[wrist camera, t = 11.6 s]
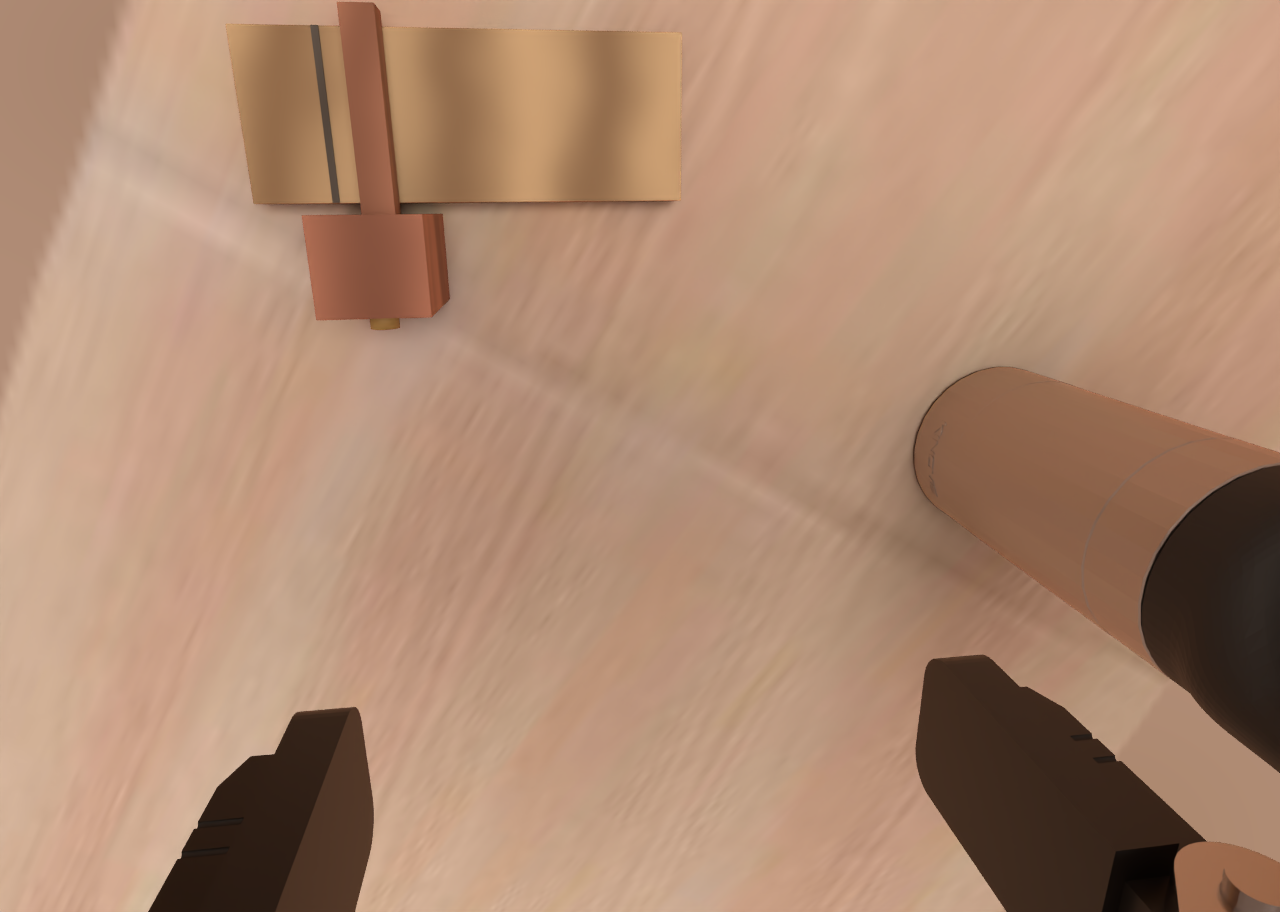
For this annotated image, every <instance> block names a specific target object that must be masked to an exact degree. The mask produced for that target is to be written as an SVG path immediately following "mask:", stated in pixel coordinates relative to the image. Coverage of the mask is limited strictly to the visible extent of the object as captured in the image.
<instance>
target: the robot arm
mask: <svg viewBox="0 0 1280 912" xmlns="http://www.w3.org/2000/svg"><path fill="white" fill-rule="evenodd" d="M914 466H915V470H916V475H917V479H918V482H919V484H920V486H921V488H922V490H923V492H924V494H925V495H926V496H927V497H928V499H929V500H930V501H931V502H932V503H933V505H935V506H936V507H938V508H939V509H940V510H942V511H943V512H944V513H946V514H947V515H948V516H950V517H951V518H952V519H954V520H955V521H956V522H958V523H959V524H960V525H962V526H963V527H964V528H966V529H967V530H968V531H970V532H971V533H972V534H973V535H975V536H976V537H977V538H979V539H980V540H981V541H983V542H984V543H986V544H987V545H988V546H990V547H991V548H992V549H994V550H995V551H996V552H998V553H999V554H1001V555H1002V556H1003V557H1005V558H1006V559H1007V560H1009V561H1010V562H1011V563H1013V564H1014V565H1016V566H1017V567H1018V568H1020V569H1021V570H1022V571H1024V572H1025V573H1026V574H1028V575H1029V576H1030V577H1032V578H1033V579H1035V580H1036V581H1037V582H1039V583H1040V584H1041V585H1043V586H1044V587H1045V588H1047V589H1048V590H1050V591H1051V592H1052V593H1054V594H1055V595H1056V596H1058V597H1059V598H1060V599H1062V600H1063V601H1065V602H1066V603H1067V604H1069V605H1070V606H1071V607H1073V608H1074V609H1075V610H1077V611H1078V612H1080V613H1081V614H1082V615H1084V616H1085V617H1086V618H1088V619H1089V620H1090V621H1092V622H1093V623H1095V624H1096V625H1097V626H1099V627H1100V628H1101V629H1103V630H1104V631H1105V632H1107V633H1108V634H1109V635H1111V636H1113V637H1114V638H1115V639H1117V640H1118V641H1120V642H1121V643H1122V644H1124V645H1125V646H1126V647H1128V648H1129V649H1130V650H1132V651H1133V652H1135V653H1136V654H1137V655H1139V656H1140V657H1141V658H1143V659H1144V660H1145V661H1147V662H1148V663H1150V664H1151V665H1152V666H1154V667H1155V668H1156V669H1158V670H1159V671H1160V672H1162V673H1163V674H1165V675H1166V676H1167V677H1169V678H1170V679H1172V680H1173V681H1174V682H1176V683H1177V684H1179V685H1180V686H1181V687H1183V688H1184V689H1185V690H1187V691H1188V692H1189V693H1191V695H1192V696H1193V698H1194V699H1195V700H1196V702H1197V703H1198V704H1199V705H1200V707H1201V708H1202V709H1203V710H1204V711H1205V712H1206V713H1207V714H1208V715H1209V716H1210V717H1211V718H1212V719H1213V720H1214V721H1215V722H1216V723H1217V724H1219V725H1220V726H1221V727H1222V728H1223V729H1225V730H1226V731H1227V732H1228V733H1229V734H1231V735H1232V736H1233V737H1235V738H1236V739H1237V740H1238V741H1240V742H1241V743H1242V744H1243V745H1245V746H1246V747H1247V748H1249V749H1250V750H1251V751H1252V752H1254V753H1255V754H1257V755H1258V756H1259V757H1260V758H1262V759H1263V760H1264V761H1265V762H1267V763H1268V764H1269V765H1271V766H1272V767H1273V768H1274V769H1276V770H1277V771H1278V772H1279V773H1280V453H1279V452H1276V451H1273V450H1270V449H1267V448H1263V447H1260V446H1257V445H1254V444H1251V443H1248V442H1245V441H1242V440H1238V439H1234V438H1231V437H1228V436H1225V435H1222V434H1219V433H1216V432H1213V431H1210V430H1207V429H1204V428H1201V427H1198V426H1194V425H1191V424H1188V423H1185V422H1182V421H1179V420H1176V419H1173V418H1170V417H1167V416H1164V415H1161V414H1158V413H1155V412H1152V411H1148V410H1145V409H1142V408H1139V407H1136V406H1133V405H1130V404H1127V403H1124V402H1121V401H1118V400H1115V399H1112V398H1109V397H1105V396H1102V395H1099V394H1096V393H1093V392H1090V391H1087V390H1084V389H1081V388H1078V387H1075V386H1073V385H1070V384H1067V383H1063V382H1060V381H1057V380H1054V379H1051V378H1048V377H1045V376H1042V375H1039V374H1035V373H1032V372H1029V371H1026V370H1022V369H1017V368H1012V367H994V368H990V369H985V370H981V371H977V372H975V373H973V374H971V375H969V376H967V377H965V378H962V379H961V380H959V381H958V382H957V383H955V384H954V385H952V386H951V387H950V388H948V389H947V390H946V391H945V392H944V393H943V394H942V395H941V396H940V397H939V398H938V399H937V400H936V401H935V402H934V404H933V405H932V407H931V408H930V410H929V412H928V413H927V415H926V416H925V418H924V420H923V422H922V425H921V427H920V430H919V432H918V435H917V440H916V445H915V450H914ZM916 762H917V768H918V772H919V776H920V779H921V782H922V784H923V787H924V789H925V791H926V792H927V794H928V796H929V797H930V799H931V800H932V802H933V803H934V805H935V806H936V808H937V809H938V811H939V812H940V814H941V815H942V817H943V818H944V820H945V821H946V822H947V824H948V825H949V827H950V828H951V830H952V831H953V833H954V834H955V836H956V837H957V839H958V840H959V842H960V843H961V845H962V846H963V848H964V849H965V851H966V852H967V854H968V855H969V857H970V858H971V860H972V861H973V862H974V864H975V865H976V867H977V868H978V870H979V871H980V873H981V874H982V876H983V877H984V879H985V880H986V882H987V883H988V885H989V886H990V888H991V889H992V891H993V892H994V894H995V895H996V897H997V898H998V900H999V901H1000V902H1001V904H1002V905H1003V907H1004V908H1005V910H1006V911H1007V912H1280V863H1279V862H1277V861H1275V860H1273V859H1271V858H1269V857H1267V856H1265V855H1262V854H1260V853H1258V852H1255V851H1252V850H1249V849H1246V848H1243V847H1239V846H1236V845H1232V844H1227V843H1221V842H1207V841H1206V840H1205V839H1203V837H1202V836H1201V835H1199V834H1198V833H1197V832H1196V831H1195V830H1194V829H1193V828H1192V827H1191V826H1190V825H1189V824H1188V823H1187V822H1186V821H1185V820H1183V819H1182V818H1181V817H1180V816H1179V815H1178V814H1177V813H1176V812H1175V811H1174V810H1173V809H1172V808H1170V806H1168V805H1167V804H1166V803H1165V802H1164V801H1163V800H1162V799H1161V798H1160V797H1159V796H1158V795H1157V794H1156V793H1154V792H1153V791H1152V790H1151V789H1150V788H1149V787H1148V786H1147V785H1146V784H1145V783H1144V782H1143V781H1142V780H1141V779H1140V778H1138V777H1137V776H1136V775H1135V774H1134V773H1133V772H1132V771H1131V770H1130V769H1129V768H1128V767H1127V766H1126V765H1125V764H1123V762H1121V761H1116V759H1115V755H1114V754H1113V753H1112V752H1111V751H1110V750H1109V749H1108V748H1107V747H1105V746H1104V745H1103V744H1102V743H1101V742H1100V741H1099V740H1098V739H1093V738H1092V733H1090V732H1089V731H1088V730H1087V729H1086V728H1085V727H1084V726H1083V725H1082V724H1081V723H1080V722H1079V721H1078V720H1077V719H1076V718H1074V717H1073V716H1072V715H1071V714H1070V713H1069V712H1068V711H1067V710H1066V709H1065V708H1064V707H1062V706H1060V705H1058V704H1057V703H1055V702H1053V701H1051V700H1049V699H1048V698H1046V697H1044V696H1042V695H1041V694H1039V693H1037V692H1035V691H1034V690H1032V689H1030V688H1028V687H1019V686H1018V685H1017V684H1016V683H1015V682H1014V681H1013V680H1012V679H1011V678H1010V677H1009V676H1008V675H1007V674H1006V673H1005V672H1004V671H1003V670H1002V669H1001V668H1000V667H999V666H998V665H997V664H996V663H995V662H994V661H993V660H992V659H990V658H989V657H987V656H985V655H973V656H962V657H950V658H938V659H932V660H931V661H930V662H929V663H928V665H927V667H926V670H925V675H924V683H923V691H922V699H921V707H920V715H919V724H918V732H917V740H916ZM373 823H374V808H373V797H372V790H371V783H370V776H369V769H368V762H367V756H366V749H365V742H364V735H363V728H362V721H361V717H360V713H359V711H358V709H357V708H356V707H350V708H339V709H327V710H315V711H304V712H297V713H295V714H294V716H293V717H292V719H291V721H290V723H289V725H288V727H287V729H286V731H285V733H284V735H283V737H282V740H281V742H280V744H279V746H278V748H277V750H276V752H275V754H272V755H261V756H251V757H249V758H248V759H247V760H246V761H245V762H244V763H243V764H242V765H241V766H240V767H239V768H238V769H236V770H235V771H234V772H233V773H232V774H231V775H230V776H229V777H228V778H227V779H226V780H225V781H223V782H222V783H221V784H220V785H219V786H218V787H217V789H216V790H215V792H214V794H213V796H212V798H211V799H210V801H209V803H208V805H207V807H206V808H205V810H204V812H203V814H202V816H201V817H200V819H199V821H198V828H197V829H194V830H193V832H192V834H191V836H190V837H189V839H188V841H187V843H186V845H185V846H184V848H183V850H182V856H181V859H177V861H176V863H175V864H174V866H173V868H172V870H171V872H170V874H169V875H168V877H167V879H166V881H165V883H164V884H163V886H162V888H161V890H160V892H159V893H158V895H157V897H156V899H155V901H154V902H153V904H152V906H151V908H150V910H149V911H148V912H355V909H356V905H357V901H358V897H359V893H360V890H361V886H362V882H363V878H364V874H365V870H366V866H367V862H368V859H369V855H370V850H371V844H372V837H373Z"/></svg>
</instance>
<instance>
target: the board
mask: <svg viewBox="0 0 1280 912" xmlns="http://www.w3.org/2000/svg"><path fill="white" fill-rule="evenodd" d="M226 30H227V37H228V43H229V50H230V56H231V62H232V69H233V75H234V81H235V88H236V94H237V101H238V107H239V113H240V120H241V126H242V132H243V139H244V145H245V152H246V158H247V164H248V171H249V177H250V183H251V190H252V196H253V203H254V204H356V203H360V197H359V188H358V180H357V171H356V163H355V154H354V145H353V137H352V128H351V120H350V111H349V103H348V94H347V85H346V77H345V68H344V60H343V51H342V42H341V34H340V26H318V25H260V24H226ZM382 33H383V43H384V53H385V63H386V73H387V83H388V92H389V102H390V112H391V122H392V132H393V142H394V152H395V161H396V171H397V181H398V191H399V201H400V203H477V202H598V201H678V200H681V79H682V33H679V32H627V31H574V30H522V29H469V28H417V27H382Z"/></svg>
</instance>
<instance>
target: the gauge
mask: <svg viewBox="0 0 1280 912" xmlns="http://www.w3.org/2000/svg"><path fill="white" fill-rule="evenodd" d="M337 8H338V17H339V25H340V34H341V42H342V51H343V60H344V68H345V77H346V85H347V94H348V103H349V111H350V120H351V128H352V137H353V145H354V154H355V163H356V171H357V180H358V188H359V197H360V206H361V214H362V215H302V220H303V228H304V235H305V242H306V249H307V256H308V263H309V271H310V278H311V285H312V292H313V299H314V306H315V314H316V320H346V319H370V325H371V329H373V330H389V329H397V328H400V322H399V318H422V317H432V316H433V315H434V314H435V313H436V312H437V311H438V310H439V309H440V308H441V307H442V306H443V305H444V304H445V303H446V302H447V301H448V300H449V299H450V295H449V283H448V272H447V260H446V248H445V236H444V225H443V214H401V211H400V201H399V191H398V181H397V171H396V161H395V152H394V142H393V132H392V122H391V112H390V102H389V92H388V83H387V73H386V63H385V53H384V43H383V33H382V23H381V13H380V10H379V9H378V8H377V7H376V5H375V4H374V3H367V2H337Z"/></svg>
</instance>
